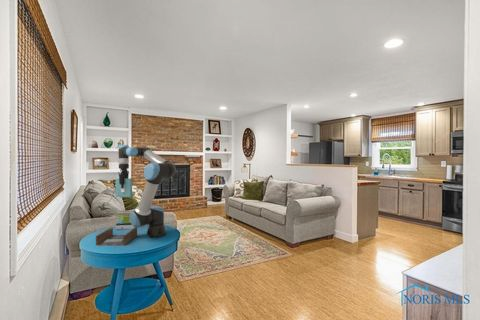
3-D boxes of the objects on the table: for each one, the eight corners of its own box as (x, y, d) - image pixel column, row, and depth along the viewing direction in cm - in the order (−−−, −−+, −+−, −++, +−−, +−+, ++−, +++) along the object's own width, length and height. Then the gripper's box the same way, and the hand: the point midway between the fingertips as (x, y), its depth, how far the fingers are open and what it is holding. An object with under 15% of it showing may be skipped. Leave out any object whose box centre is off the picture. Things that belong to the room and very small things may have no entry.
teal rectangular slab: (132, 196, 202) (131, 178, 201) (130, 197, 199) (130, 178, 198) (117, 196, 202) (117, 178, 201) (115, 197, 199) (115, 178, 198)
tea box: (115, 229, 210) (115, 212, 210) (119, 226, 220) (118, 210, 220) (134, 228, 213) (133, 212, 213) (136, 225, 223) (136, 209, 223)
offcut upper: (123, 241, 177) (123, 238, 177) (121, 244, 172) (121, 241, 172) (106, 242, 176) (106, 239, 176) (103, 244, 171) (103, 242, 171)
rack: (137, 237, 190) (137, 227, 190) (124, 247, 169) (124, 235, 169) (111, 237, 190) (111, 227, 190) (95, 247, 170) (95, 235, 169)
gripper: (123, 163, 208) (124, 190, 208) (114, 163, 192) (114, 193, 192) (132, 163, 208) (132, 190, 208) (123, 163, 192) (123, 193, 192)
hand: (124, 191), depth 200 cm, fingers closed on teal rectangular slab, 3 cm apart
